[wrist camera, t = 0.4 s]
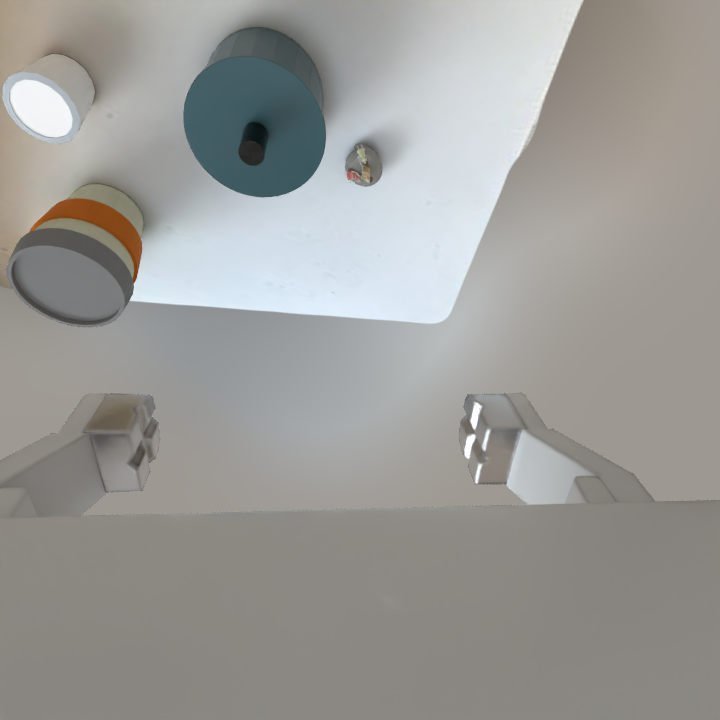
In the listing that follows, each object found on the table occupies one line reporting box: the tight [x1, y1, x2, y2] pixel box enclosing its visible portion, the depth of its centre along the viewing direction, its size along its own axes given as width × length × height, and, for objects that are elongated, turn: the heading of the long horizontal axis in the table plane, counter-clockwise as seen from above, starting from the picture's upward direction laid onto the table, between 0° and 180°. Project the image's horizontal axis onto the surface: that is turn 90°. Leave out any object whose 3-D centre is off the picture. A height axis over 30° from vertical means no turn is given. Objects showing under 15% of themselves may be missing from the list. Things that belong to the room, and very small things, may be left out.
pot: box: [206, 28, 323, 111], centre depth 52 cm, size 13×13×10 cm
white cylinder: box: [2, 54, 95, 144], centre depth 51 cm, size 7×7×7 cm
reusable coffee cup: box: [7, 184, 144, 327], centre depth 61 cm, size 12×13×15 cm
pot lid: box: [184, 55, 326, 197], centre depth 47 cm, size 14×14×5 cm
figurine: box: [345, 144, 382, 187], centre depth 59 cm, size 5×4×6 cm
